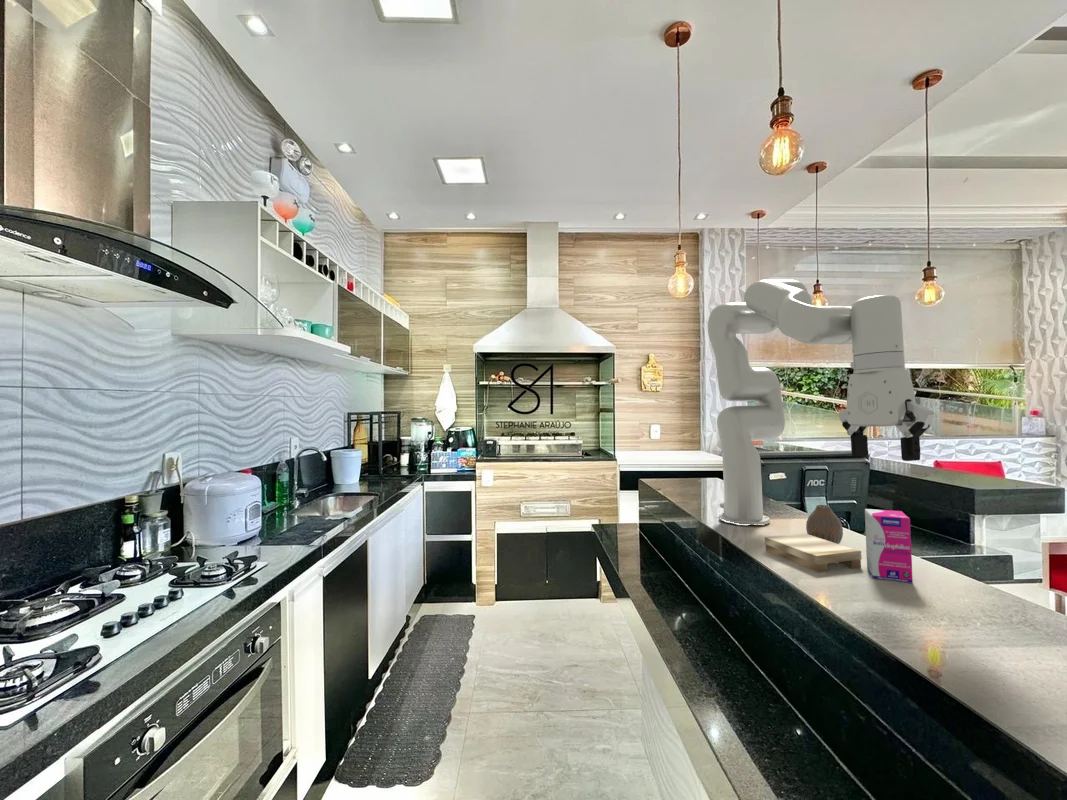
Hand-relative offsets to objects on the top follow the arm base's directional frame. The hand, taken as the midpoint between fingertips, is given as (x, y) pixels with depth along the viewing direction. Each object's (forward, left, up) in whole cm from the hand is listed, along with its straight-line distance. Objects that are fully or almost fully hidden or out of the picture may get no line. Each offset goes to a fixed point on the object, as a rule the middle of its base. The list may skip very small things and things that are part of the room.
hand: (884, 458), depth 83 cm
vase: (-19, +5, -22) cm, 29 cm away
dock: (-12, -5, -21) cm, 25 cm away
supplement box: (0, 0, -22) cm, 22 cm away
